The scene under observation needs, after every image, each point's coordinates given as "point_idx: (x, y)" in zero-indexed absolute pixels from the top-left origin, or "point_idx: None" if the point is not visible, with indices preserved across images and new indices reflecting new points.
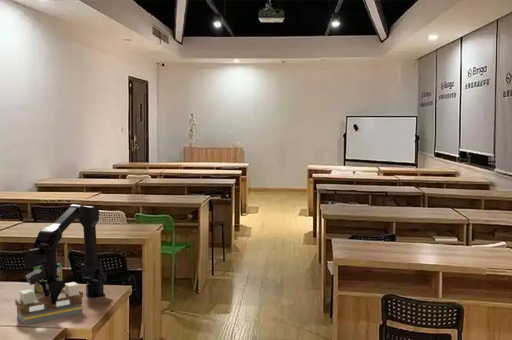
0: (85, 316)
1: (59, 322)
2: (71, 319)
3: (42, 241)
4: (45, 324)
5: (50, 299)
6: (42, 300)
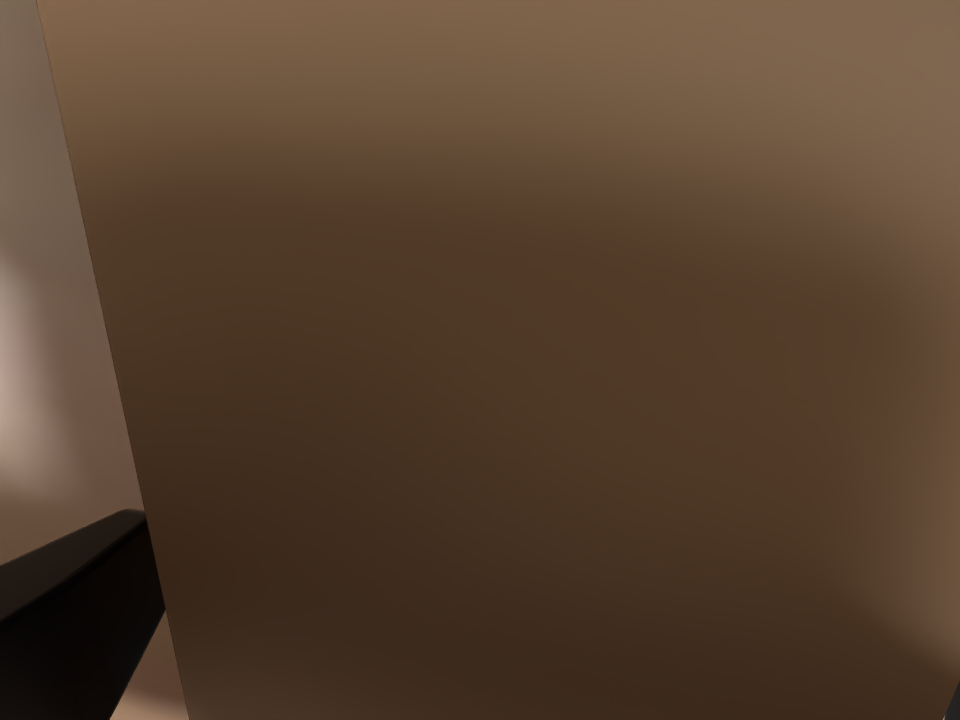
0: (168, 703)
1: (48, 316)
2: None
3: None
4: (31, 36)
5: (246, 645)
6: (273, 352)
